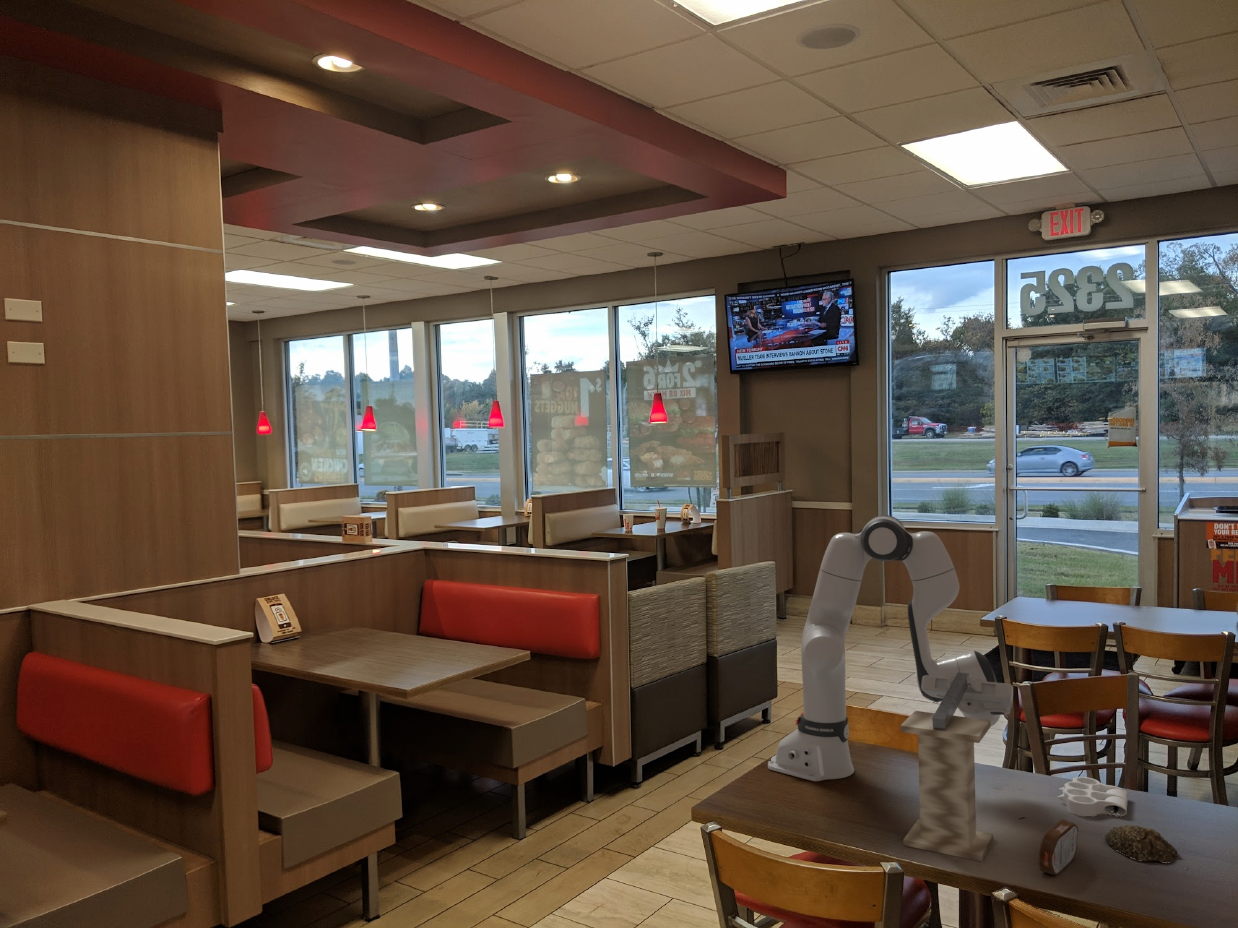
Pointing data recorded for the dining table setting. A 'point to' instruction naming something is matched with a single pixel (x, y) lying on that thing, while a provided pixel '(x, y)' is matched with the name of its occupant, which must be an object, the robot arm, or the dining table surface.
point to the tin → (1058, 847)
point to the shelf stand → (947, 786)
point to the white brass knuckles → (1093, 797)
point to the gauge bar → (950, 702)
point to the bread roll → (1140, 843)
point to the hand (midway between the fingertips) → (960, 680)
